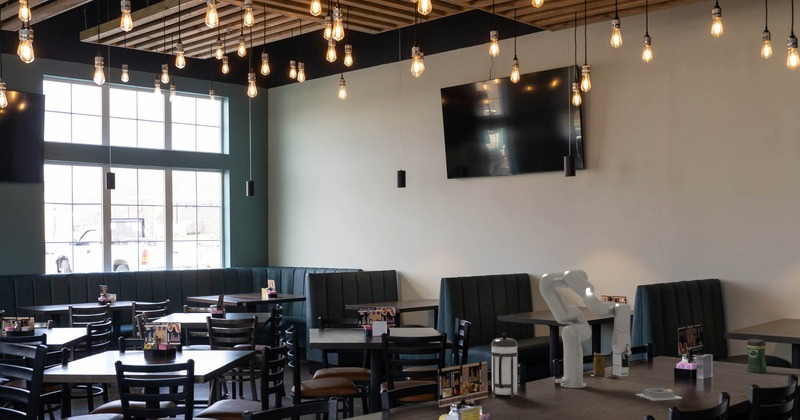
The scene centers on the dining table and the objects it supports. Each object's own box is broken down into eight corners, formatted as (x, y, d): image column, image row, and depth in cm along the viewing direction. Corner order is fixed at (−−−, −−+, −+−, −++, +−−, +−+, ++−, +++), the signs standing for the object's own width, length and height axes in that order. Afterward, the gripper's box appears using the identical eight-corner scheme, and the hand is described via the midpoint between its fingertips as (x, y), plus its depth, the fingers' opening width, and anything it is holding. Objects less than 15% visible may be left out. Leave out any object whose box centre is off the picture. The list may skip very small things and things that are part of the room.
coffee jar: (768, 372, 462) (768, 339, 462) (761, 373, 457) (761, 340, 457) (752, 370, 469) (751, 337, 470) (745, 371, 464) (744, 338, 465)
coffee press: (481, 394, 394) (481, 332, 395) (510, 392, 401) (509, 330, 402) (499, 401, 378) (499, 335, 380) (529, 398, 385) (528, 334, 386)
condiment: (602, 375, 453) (602, 353, 453) (609, 377, 444) (609, 355, 445) (590, 375, 451) (589, 353, 452) (597, 378, 443) (596, 355, 443)
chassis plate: (652, 400, 379) (652, 394, 379) (635, 395, 392) (635, 388, 392) (682, 398, 384) (682, 392, 384) (664, 393, 397) (663, 387, 397)
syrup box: (620, 376, 394) (621, 346, 395) (612, 374, 400) (612, 344, 400) (629, 375, 397) (630, 346, 397) (620, 373, 402) (621, 344, 402)
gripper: (605, 326, 406) (604, 362, 406) (625, 331, 389) (624, 369, 389) (618, 326, 408) (617, 362, 408) (638, 331, 391) (637, 369, 391)
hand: (621, 365), depth 398 cm, fingers closed on syrup box, 6 cm apart
